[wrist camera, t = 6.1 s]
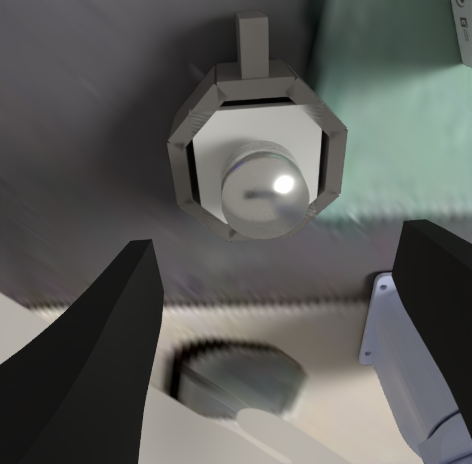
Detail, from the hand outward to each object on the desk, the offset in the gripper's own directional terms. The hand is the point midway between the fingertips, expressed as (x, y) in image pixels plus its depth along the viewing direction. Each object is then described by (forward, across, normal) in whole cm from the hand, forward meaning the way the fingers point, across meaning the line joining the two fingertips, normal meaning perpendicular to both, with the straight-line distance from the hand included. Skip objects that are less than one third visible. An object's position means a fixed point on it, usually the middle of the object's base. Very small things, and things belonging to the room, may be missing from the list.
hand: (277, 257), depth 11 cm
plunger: (+9, 0, 0) cm, 9 cm away
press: (+10, 0, 0) cm, 10 cm away
